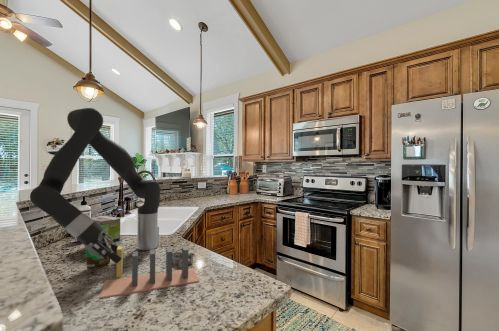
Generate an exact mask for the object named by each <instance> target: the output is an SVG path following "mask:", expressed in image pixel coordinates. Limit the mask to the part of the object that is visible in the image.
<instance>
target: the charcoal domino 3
mask: <svg viewBox="0 0 499 331" xmlns="http://www.w3.org/2000/svg"><path fill="white" fill-rule="evenodd" d="M165 251H166V252H165V254H166V256H165V258H166V259H165V260H166V261H165V262H166V263H165V269H166V270H165V272H166V278H167V281H172V271H173V262H172V253H173V250H172V247H166V250H165Z"/></svg>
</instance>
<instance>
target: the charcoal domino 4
mask: <svg viewBox="0 0 499 331" xmlns="http://www.w3.org/2000/svg"><path fill="white" fill-rule="evenodd" d="M181 253H182V258H181V260H182V266H181V270H182V276H183V279H185V278H188V269H189V264H188V253H189V248H188V246H187V245H182V246H181Z"/></svg>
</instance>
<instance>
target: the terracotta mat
mask: <svg viewBox="0 0 499 331" xmlns="http://www.w3.org/2000/svg"><path fill="white" fill-rule="evenodd" d="M199 282H200V279H199V278H198V275H197V273H196V271H195V269H194V267H191V268H189V267H188V278H185V279H183V276H182V269H178V270H177V269H176V270H172V281H167V278H166V271H164V272H155V283H154V284H150V273H148V274H143V275H138V284H137V286H136V287H132V276H130V277H123V278H122V277H120V278H115V279H109V280H108V279H107V280H105V281H104V284H103V287H102V290H101V292H100V296H99V299H106V298H110V297H111V298H112V297H116V296H122V295H129V294H134V293H142V292H147V291H152V290H159V289H164V288H170V287H177V286H183V285H188V284H194V283H199Z"/></svg>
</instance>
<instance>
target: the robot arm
mask: <svg viewBox="0 0 499 331" xmlns="http://www.w3.org/2000/svg"><path fill="white" fill-rule="evenodd" d="M66 119H67V123H68V126H69V127H70V128H71V130H72V131H74V132H73V133H72V135H71V136H70V138H69V139H68V140H67V142H65V143H64V144H63V145H62V146H61V147H60V148H59V150H57V151H56V153H55V154H54V155H53V156H52V158H51V159H50V161H49V164H47V167H46V169H45V171H44V173H43V177H42V179H41V181H40V182H39V184H38V186H36V187H35V188H33V189H32V191H31V192H30V193H29V200H30V202H31V203H32V205H33V206H34V207H36V208H38V209H40V210H41V211H43V212H44V213H45V214H47V215H49V216H50V217H51V218H52V219H53V220H54V222H56V223H57V224H58V225H60V226H61V227H62V228H63V229H64V230H66V231H67V233H69V234H70V235H71V236H73V237H74V239H75V238H76V240H77V239H78V240H79V241H80V242H82V243H81V244H83V245H84V246H85V245H88V244H89V243H91V242H92V243H93V244H94V245H93V246H92V249H94V250H95V251H96V252H98V253H99V254H100V255H101V256H103V257H104V258H106V257H107V258H110V261H112V262H114V263H115V264H117V263H118V262H119V261H120V260H121V257H120V256H118V255H117V248H118V246H117V245H116V243H115V241H114V240H113V239H111V238H110V237H109V236H108V235H106V234H105V233H102V234H100V233H101V232H102V231H103V228H102V227H101V226H100V225H98V224H97V223H96V222H95V221H94V220H92V219H91V218H92V217H90V216H89V215H87V214H86V213H83V212H82V211H81V210H80V209H79V208H77V207H76V206H75V205H73V204H72V203H71V202H70V201H68V199H66V198H65V197H64V196H63V195H62V191H63V188H64V186H65V184H66V182H67V181H68V179H69V178H70V176H71V174H72V172H73V170H74V168H75V166H76V164H77V162H78V161H79V159H80V158H81V156H82V154H83V153H84V151H85V150H86V148H87V147H88V145H90V146H91V147H92V148H93V150H94V151H95V152H96V153H97V154H98V155H99V156H100V157H101V159H103V160H104V161H105V162H106V164H108V165H109V167H111V169H112V170H113V171H114V172H115V173H116V174H117V175H118V176H120V178H121V179H122V181H124V182H125V183H126V184H127V185H128V187H129V188H130V190H131V191H132V193H133V194H134V195H135V196H136V197H137V198H139V199H142V200H144V201H143V204H142V205H141V206H139V207H137V237H136V238H137V246H136V247H137V251H138V250H139V251H150V250H153V249H155V250H156V248H157V247H158V246H160V245H159V244H160V227H159V226H158V224H159V222H158V218H159V216H158V215H159V214H158V213H159V210H158V209H159V207H160V199H161V198H160V197H161V187H160V183H159V182H158V181H156V180H150V179H149V180H146V179H144V178H143V177H142V176H140V174H139V173H138V172H137V170H136V165H135V161H134V158H133V157H132V156H131V155H130V153H129V152H128V151H127V150H126V149H125V147H123V146H122V145H121V144H119V143H117V142H116V141H114V140H113V139H111V138H110V137H108V136H106V134H104V133H103V132H102V131H101V128H102V127H103V124H104V117H103V114H102V113H101V112H100V111H99V110H98V109H96V108H93V107H83V108H79V109H74V110H73V109H72V110H71V111H70V112H69V113H68V114H67V118H66ZM106 251H107V252H106Z"/></svg>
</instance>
